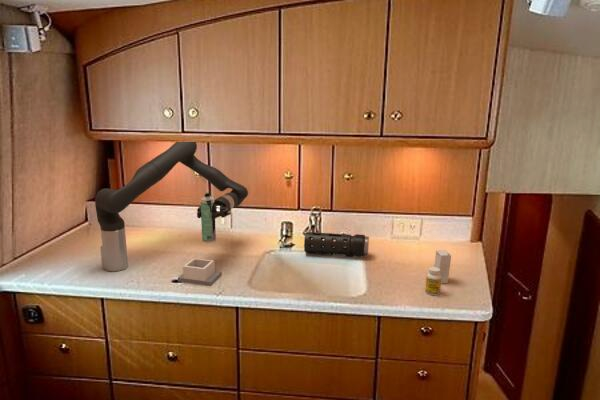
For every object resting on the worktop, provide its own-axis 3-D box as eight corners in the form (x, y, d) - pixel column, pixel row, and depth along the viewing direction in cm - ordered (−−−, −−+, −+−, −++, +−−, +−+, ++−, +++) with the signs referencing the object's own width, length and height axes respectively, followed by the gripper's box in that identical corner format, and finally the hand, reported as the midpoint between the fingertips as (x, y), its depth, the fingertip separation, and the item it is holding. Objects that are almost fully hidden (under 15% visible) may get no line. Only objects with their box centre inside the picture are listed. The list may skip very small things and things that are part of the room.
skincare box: (432, 277, 198) (434, 249, 195) (443, 277, 198) (446, 249, 195) (437, 284, 192) (440, 255, 189) (448, 283, 193) (451, 254, 189)
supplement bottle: (439, 290, 187) (441, 266, 185) (440, 296, 182) (443, 272, 179) (424, 289, 188) (426, 265, 185) (425, 295, 183) (427, 271, 180)
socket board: (177, 281, 192) (176, 265, 190) (190, 271, 202) (189, 256, 200) (210, 285, 188) (210, 270, 187) (221, 275, 198) (221, 260, 196)
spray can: (218, 240, 201) (217, 192, 195) (207, 243, 197) (205, 195, 191) (210, 237, 204) (208, 190, 199) (199, 240, 200) (197, 192, 195)
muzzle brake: (306, 249, 227) (307, 228, 224) (368, 253, 223) (369, 232, 220) (303, 257, 218) (304, 235, 215) (367, 261, 214) (368, 239, 211)
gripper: (206, 195, 212) (188, 205, 196) (238, 198, 208) (221, 209, 192) (207, 212, 214) (189, 223, 198) (238, 215, 210) (222, 227, 194)
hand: (205, 216), depth 195 cm, fingers closed on spray can, 5 cm apart
